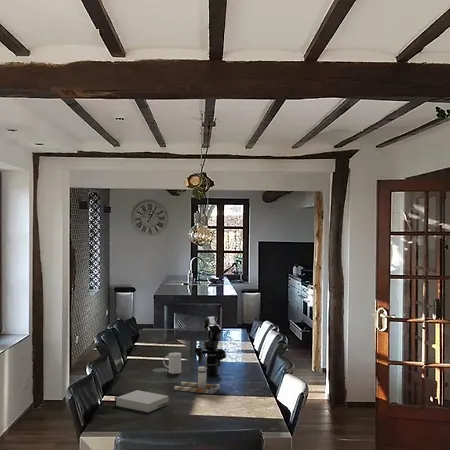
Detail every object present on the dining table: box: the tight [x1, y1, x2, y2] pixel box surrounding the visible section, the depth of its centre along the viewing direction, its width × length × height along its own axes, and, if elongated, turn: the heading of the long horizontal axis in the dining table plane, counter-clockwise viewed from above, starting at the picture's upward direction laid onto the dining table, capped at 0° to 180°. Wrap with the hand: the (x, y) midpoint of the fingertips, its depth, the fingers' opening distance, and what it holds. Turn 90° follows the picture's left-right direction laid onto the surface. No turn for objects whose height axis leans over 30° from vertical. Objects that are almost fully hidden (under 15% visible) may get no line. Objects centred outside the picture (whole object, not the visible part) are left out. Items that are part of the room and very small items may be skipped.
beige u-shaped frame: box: [173, 381, 221, 394], centre depth 344 cm, size 24×11×2 cm, turn 72°
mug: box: [162, 352, 182, 375], centre depth 385 cm, size 12×8×12 cm
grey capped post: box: [197, 365, 207, 389], centre depth 343 cm, size 5×5×13 cm
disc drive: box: [114, 389, 169, 413], centre depth 315 cm, size 18×22×5 cm
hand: (206, 365), depth 351 cm, fingers open, 9 cm apart
